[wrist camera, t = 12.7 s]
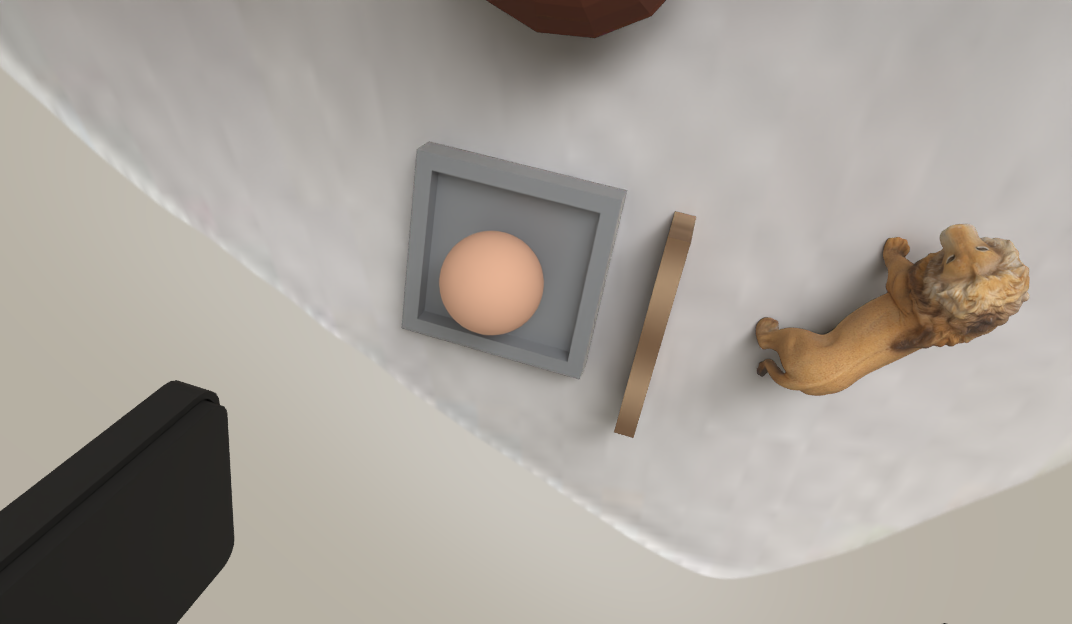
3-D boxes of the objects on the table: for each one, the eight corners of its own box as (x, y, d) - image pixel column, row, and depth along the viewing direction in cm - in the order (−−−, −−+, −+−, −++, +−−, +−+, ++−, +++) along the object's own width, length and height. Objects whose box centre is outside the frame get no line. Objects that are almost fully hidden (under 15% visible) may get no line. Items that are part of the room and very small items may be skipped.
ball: (467, 204, 44) (427, 242, 39) (563, 230, 43) (535, 272, 38) (456, 291, 47) (418, 337, 42) (546, 317, 46) (517, 367, 41)
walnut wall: (675, 211, 42) (667, 236, 38) (696, 216, 41) (690, 242, 38) (623, 396, 48) (613, 432, 44) (642, 401, 48) (633, 438, 44)
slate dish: (429, 141, 43) (417, 149, 42) (627, 190, 42) (622, 200, 40) (412, 315, 49) (401, 328, 48) (585, 364, 48) (579, 379, 46)
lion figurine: (940, 165, 37) (989, 227, 29) (1014, 234, 38) (1081, 313, 30) (727, 342, 44) (722, 429, 37) (792, 398, 45) (799, 495, 37)
